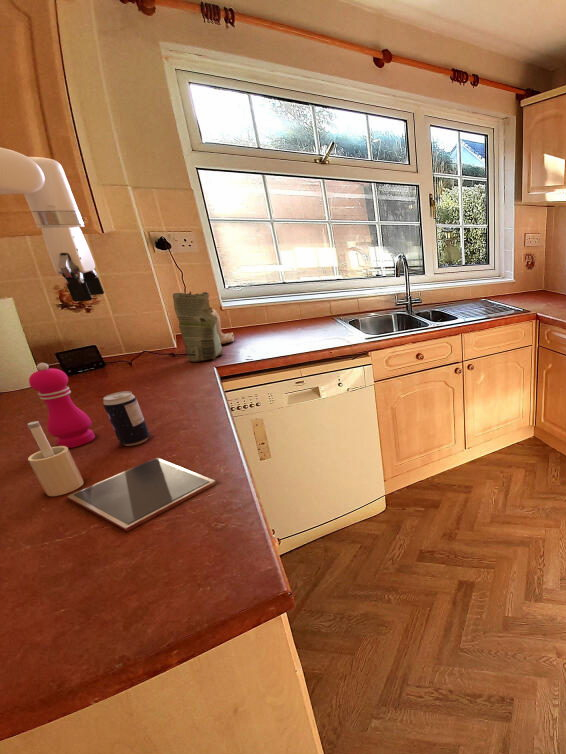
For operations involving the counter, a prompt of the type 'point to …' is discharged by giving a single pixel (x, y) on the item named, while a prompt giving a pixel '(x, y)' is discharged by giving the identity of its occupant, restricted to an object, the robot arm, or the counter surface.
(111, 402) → the beverage can
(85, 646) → the counter surface
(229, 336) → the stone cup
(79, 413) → the pepper mill
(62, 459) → the pen pot
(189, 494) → the tablet
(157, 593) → the counter surface
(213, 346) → the pouch
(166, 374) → the counter surface
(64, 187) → the robot arm
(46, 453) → the stylus
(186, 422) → the counter surface
